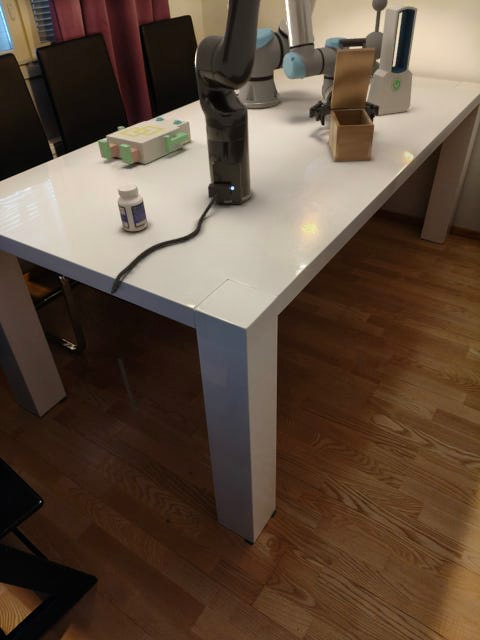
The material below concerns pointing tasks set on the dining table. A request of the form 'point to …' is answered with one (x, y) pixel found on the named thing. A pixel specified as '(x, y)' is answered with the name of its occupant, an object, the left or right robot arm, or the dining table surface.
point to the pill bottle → (131, 208)
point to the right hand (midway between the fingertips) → (347, 119)
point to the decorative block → (146, 140)
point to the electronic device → (396, 81)
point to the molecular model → (376, 34)
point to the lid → (352, 74)
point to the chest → (350, 135)
